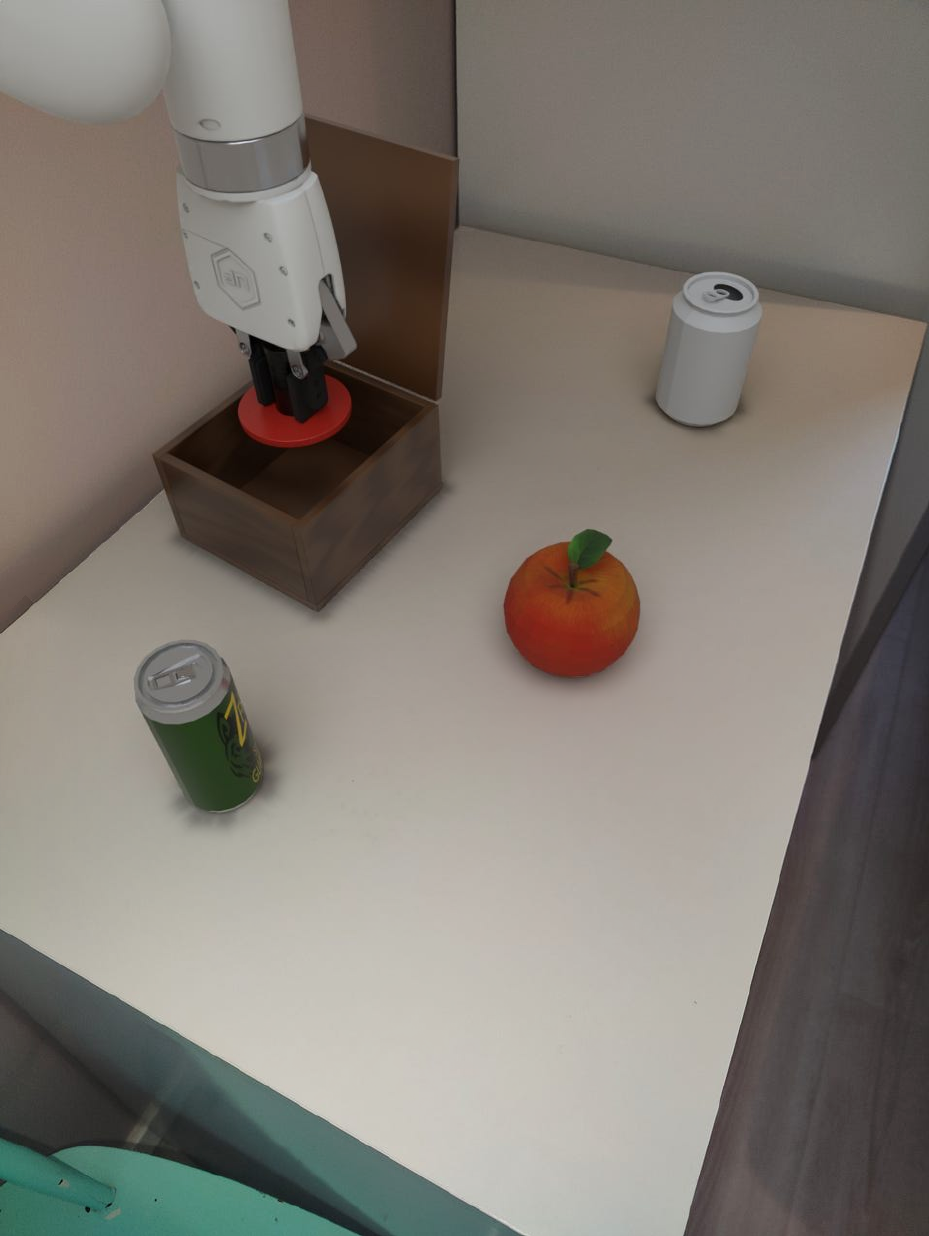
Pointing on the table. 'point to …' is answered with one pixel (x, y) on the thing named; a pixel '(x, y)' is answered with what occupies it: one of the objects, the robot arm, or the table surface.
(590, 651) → the fruit
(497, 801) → the table surface
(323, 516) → the chest
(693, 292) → the can
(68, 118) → the robot arm
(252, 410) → the pot lid
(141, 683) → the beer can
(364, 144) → the chest lid
